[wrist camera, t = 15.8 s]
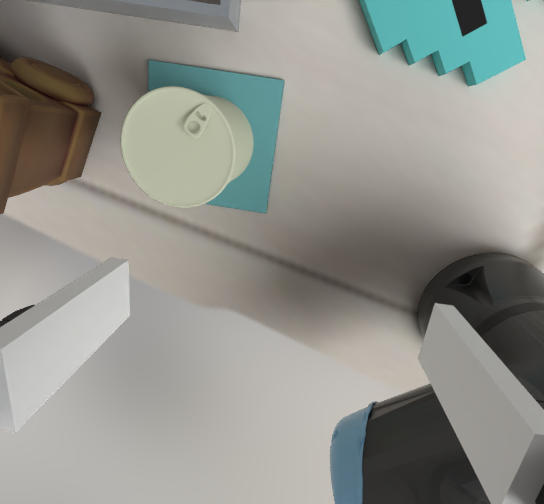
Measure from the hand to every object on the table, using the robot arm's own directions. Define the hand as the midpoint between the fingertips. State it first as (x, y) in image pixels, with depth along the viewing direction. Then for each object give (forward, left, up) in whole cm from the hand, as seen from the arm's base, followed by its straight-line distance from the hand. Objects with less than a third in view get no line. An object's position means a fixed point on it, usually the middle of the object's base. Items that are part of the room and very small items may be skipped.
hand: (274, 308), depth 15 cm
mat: (+4, +9, -26) cm, 28 cm away
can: (+4, +9, -26) cm, 28 cm away
